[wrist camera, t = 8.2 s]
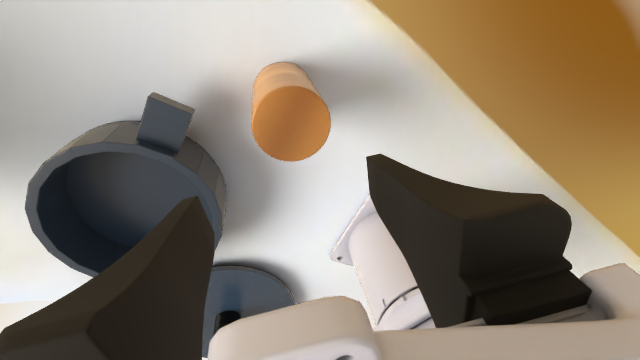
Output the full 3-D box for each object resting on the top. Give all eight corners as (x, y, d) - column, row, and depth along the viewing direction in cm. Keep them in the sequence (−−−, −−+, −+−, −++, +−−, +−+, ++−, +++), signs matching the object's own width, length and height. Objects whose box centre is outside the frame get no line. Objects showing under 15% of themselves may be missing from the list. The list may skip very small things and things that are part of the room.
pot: (262, 126, 22) (263, 147, 19) (190, 284, 28) (182, 320, 25) (82, 49, 18) (45, 60, 15) (43, 254, 24) (11, 292, 21)
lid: (315, 278, 31) (323, 318, 27) (264, 355, 36) (264, 398, 32) (181, 245, 26) (168, 287, 22) (143, 339, 31) (126, 387, 27)
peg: (322, 78, 21) (345, 107, 16) (296, 129, 23) (309, 172, 17) (267, 50, 20) (271, 70, 14) (244, 106, 21) (239, 145, 16)
